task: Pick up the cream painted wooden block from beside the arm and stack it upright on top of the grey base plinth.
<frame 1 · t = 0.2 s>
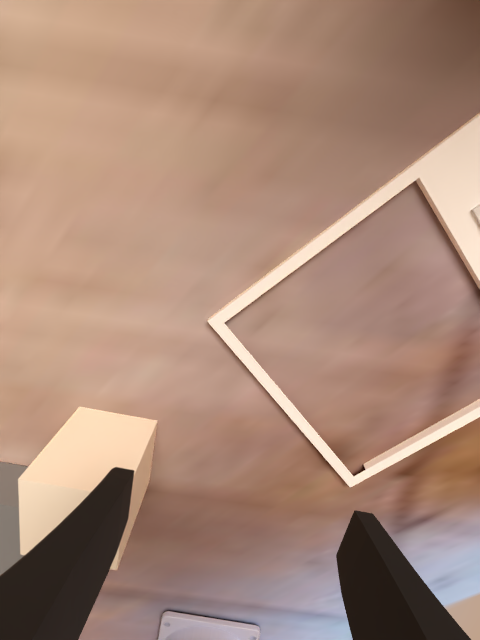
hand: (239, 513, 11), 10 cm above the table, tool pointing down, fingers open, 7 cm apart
cream block: (116, 445, 22), on the table
photo frame: (409, 319, 19), on the table
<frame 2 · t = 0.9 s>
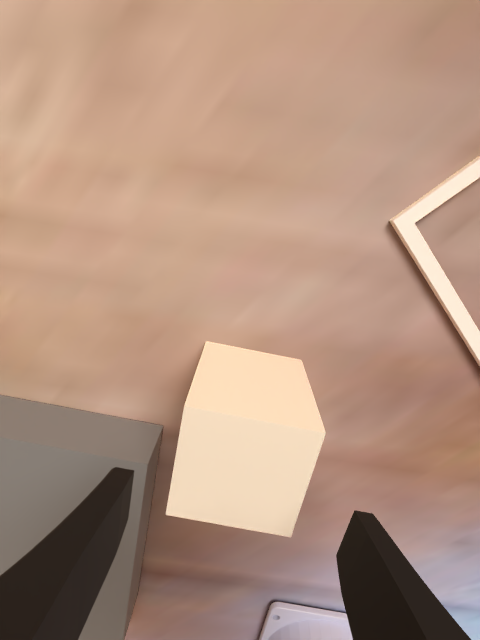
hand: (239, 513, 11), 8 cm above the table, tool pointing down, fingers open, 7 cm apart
cream block: (244, 392, 18), on the table
base plinth: (36, 498, 21), on the table
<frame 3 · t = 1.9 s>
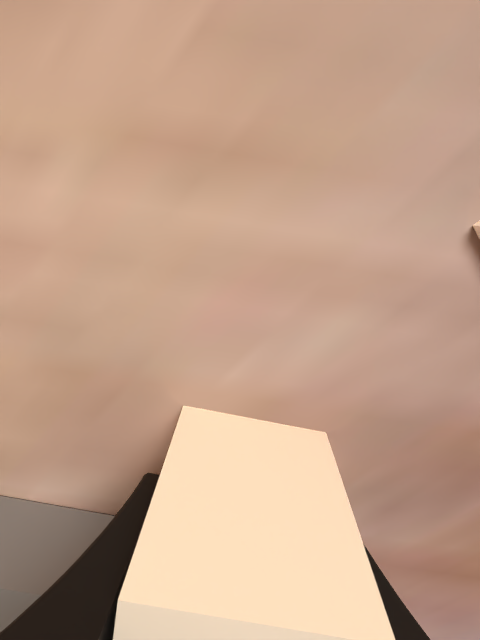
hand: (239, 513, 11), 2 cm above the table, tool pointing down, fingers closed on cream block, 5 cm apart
cream block: (240, 475, 12), on the table, touching gripper
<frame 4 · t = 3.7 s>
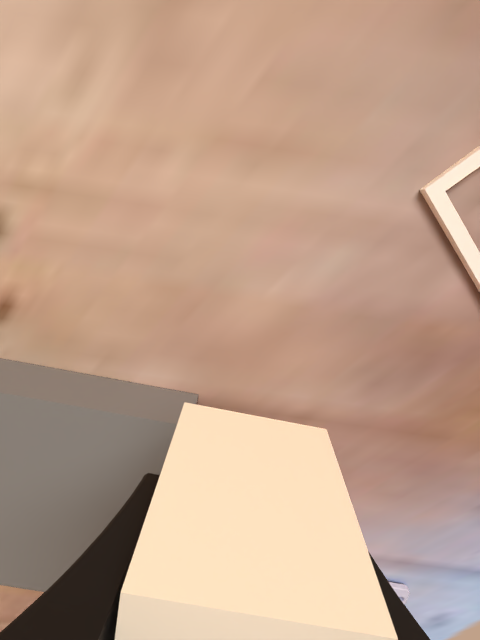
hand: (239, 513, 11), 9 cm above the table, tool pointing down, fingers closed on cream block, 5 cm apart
cream block: (241, 472, 12), point 7 cm above the table, touching gripper
base plinth: (74, 468, 22), on the table
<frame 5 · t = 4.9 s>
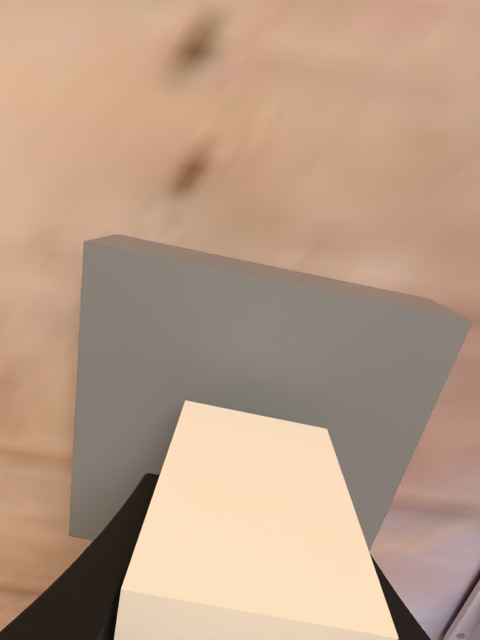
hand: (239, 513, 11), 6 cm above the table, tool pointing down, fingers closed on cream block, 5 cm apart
cream block: (241, 471, 12), point 5 cm above the table, touching gripper
base plinth: (243, 403, 17), on the table
when the fingers open (6 cm above the table, at t = 5.5 s): cream block drops 1 cm, resting on base plinth.
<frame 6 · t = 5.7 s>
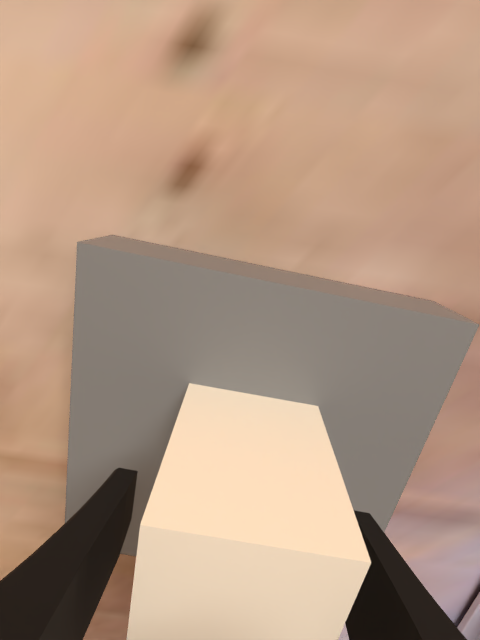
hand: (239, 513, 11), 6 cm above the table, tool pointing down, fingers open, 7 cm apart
cream block: (241, 447, 14), point 3 cm above the table, touching base plinth
base plinth: (243, 408, 17), on the table
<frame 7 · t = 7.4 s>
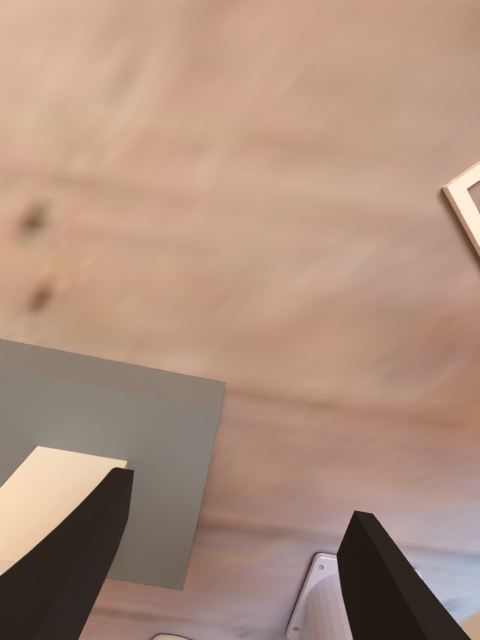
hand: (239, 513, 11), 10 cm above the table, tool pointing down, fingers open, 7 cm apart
cream block: (81, 488, 20), point 3 cm above the table, touching base plinth
base plinth: (102, 453, 22), on the table
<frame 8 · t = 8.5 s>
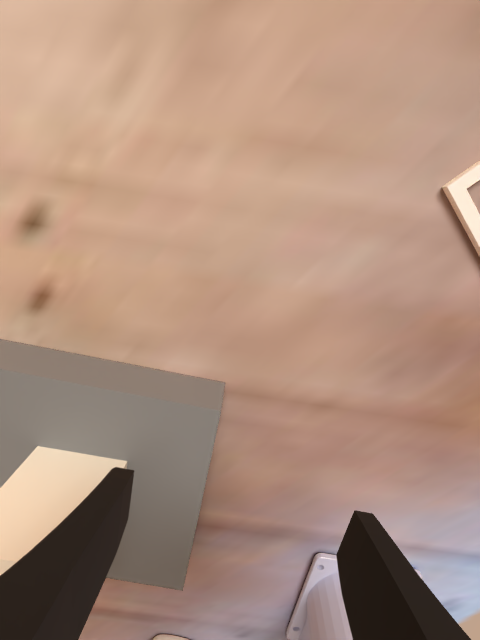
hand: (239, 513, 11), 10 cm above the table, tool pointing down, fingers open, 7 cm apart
cream block: (81, 488, 20), point 3 cm above the table, touching base plinth
base plinth: (102, 453, 22), on the table
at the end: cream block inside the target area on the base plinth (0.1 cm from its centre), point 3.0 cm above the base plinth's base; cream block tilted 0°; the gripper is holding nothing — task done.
